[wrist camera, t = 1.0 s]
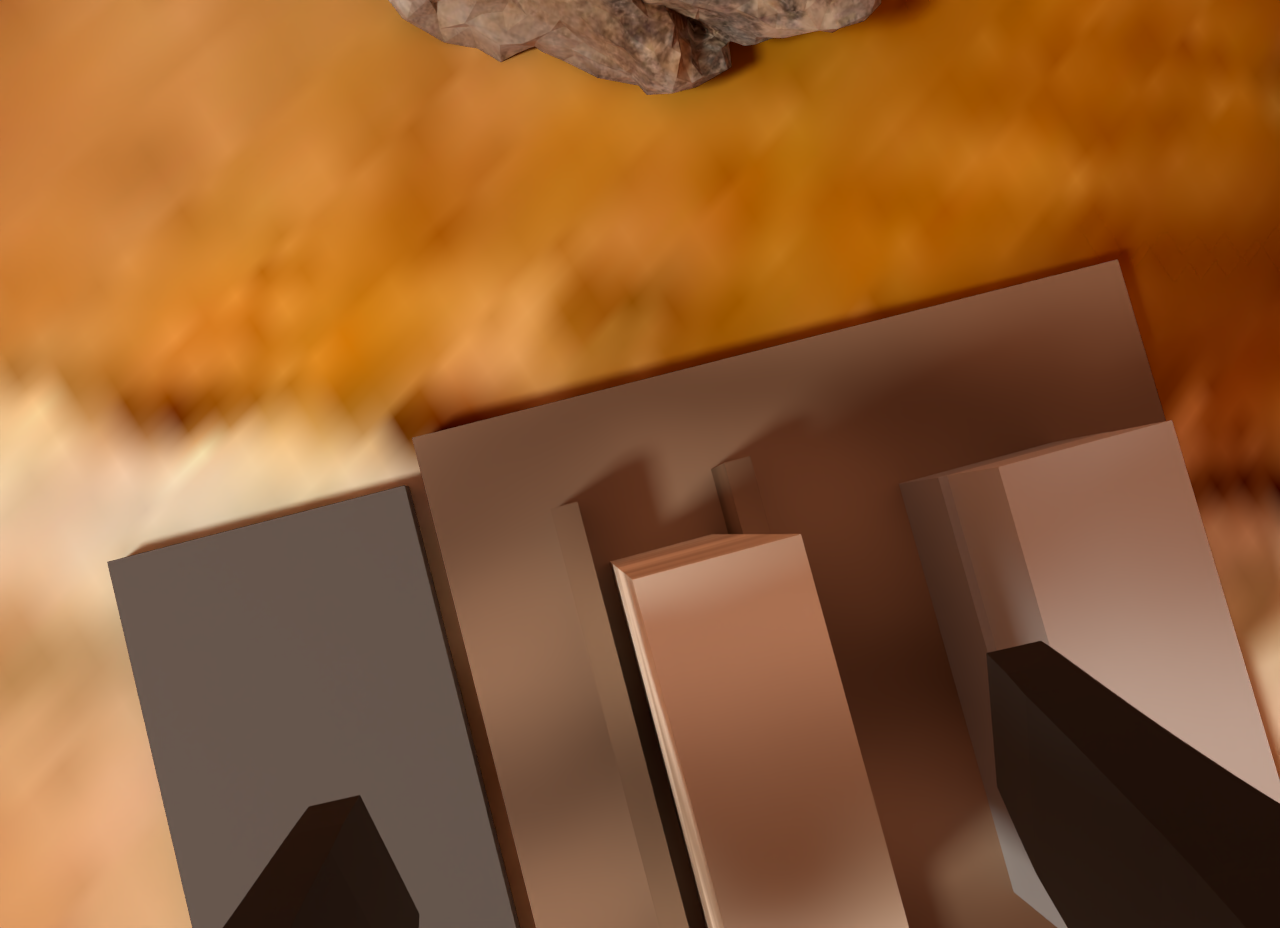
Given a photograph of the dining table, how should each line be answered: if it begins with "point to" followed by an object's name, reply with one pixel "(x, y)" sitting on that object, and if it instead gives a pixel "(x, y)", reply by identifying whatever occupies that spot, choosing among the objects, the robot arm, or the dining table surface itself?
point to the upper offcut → (1117, 583)
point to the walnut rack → (758, 504)
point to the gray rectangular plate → (309, 704)
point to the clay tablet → (630, 31)
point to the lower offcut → (970, 649)
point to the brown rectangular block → (757, 735)
